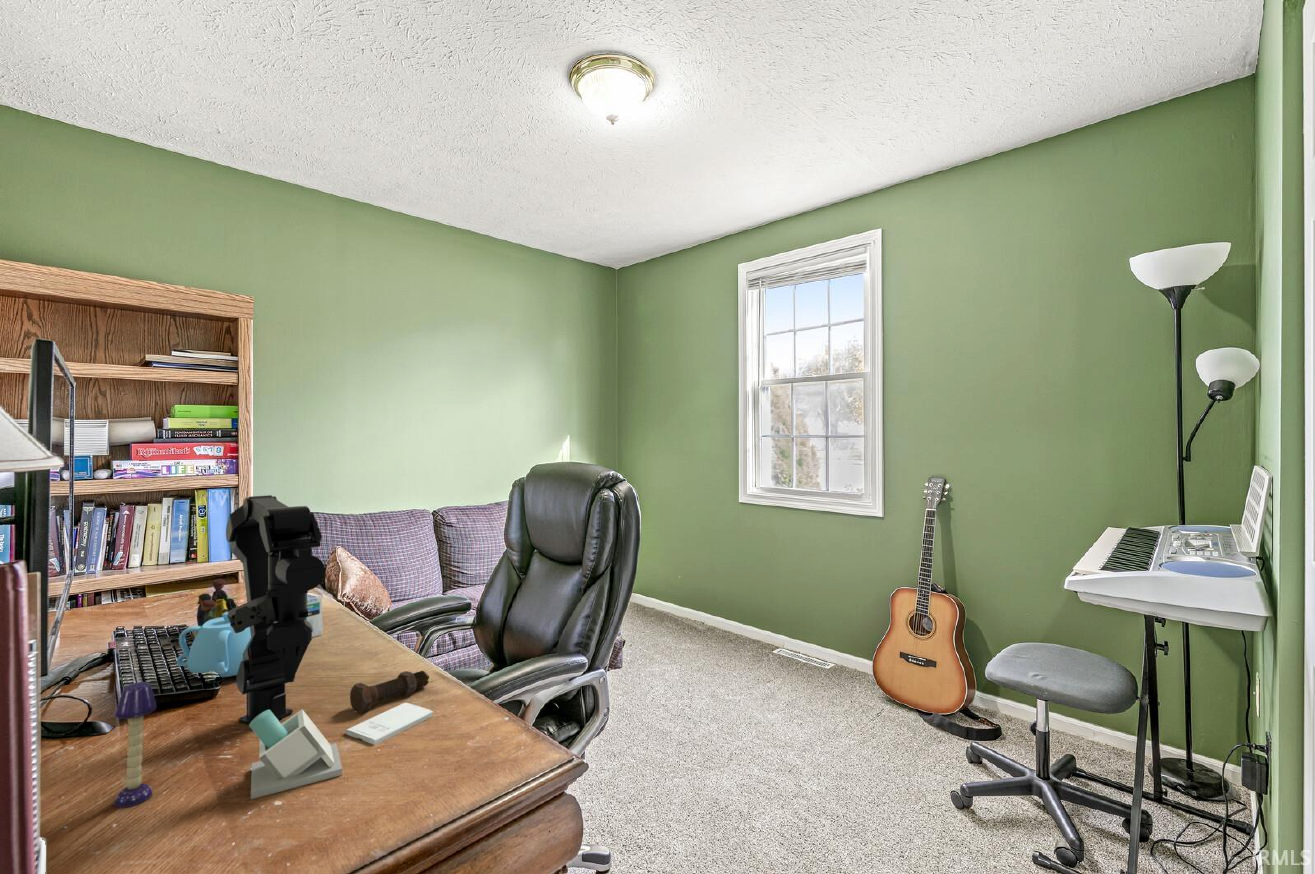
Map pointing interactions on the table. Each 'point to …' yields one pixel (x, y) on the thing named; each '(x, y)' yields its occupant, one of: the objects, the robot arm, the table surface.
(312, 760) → the socket
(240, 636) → the light blue teapot
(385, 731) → the external hard drive
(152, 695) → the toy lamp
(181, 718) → the table surface
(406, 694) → the bolt
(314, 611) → the light bulb box
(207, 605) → the doll family
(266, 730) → the dowel
